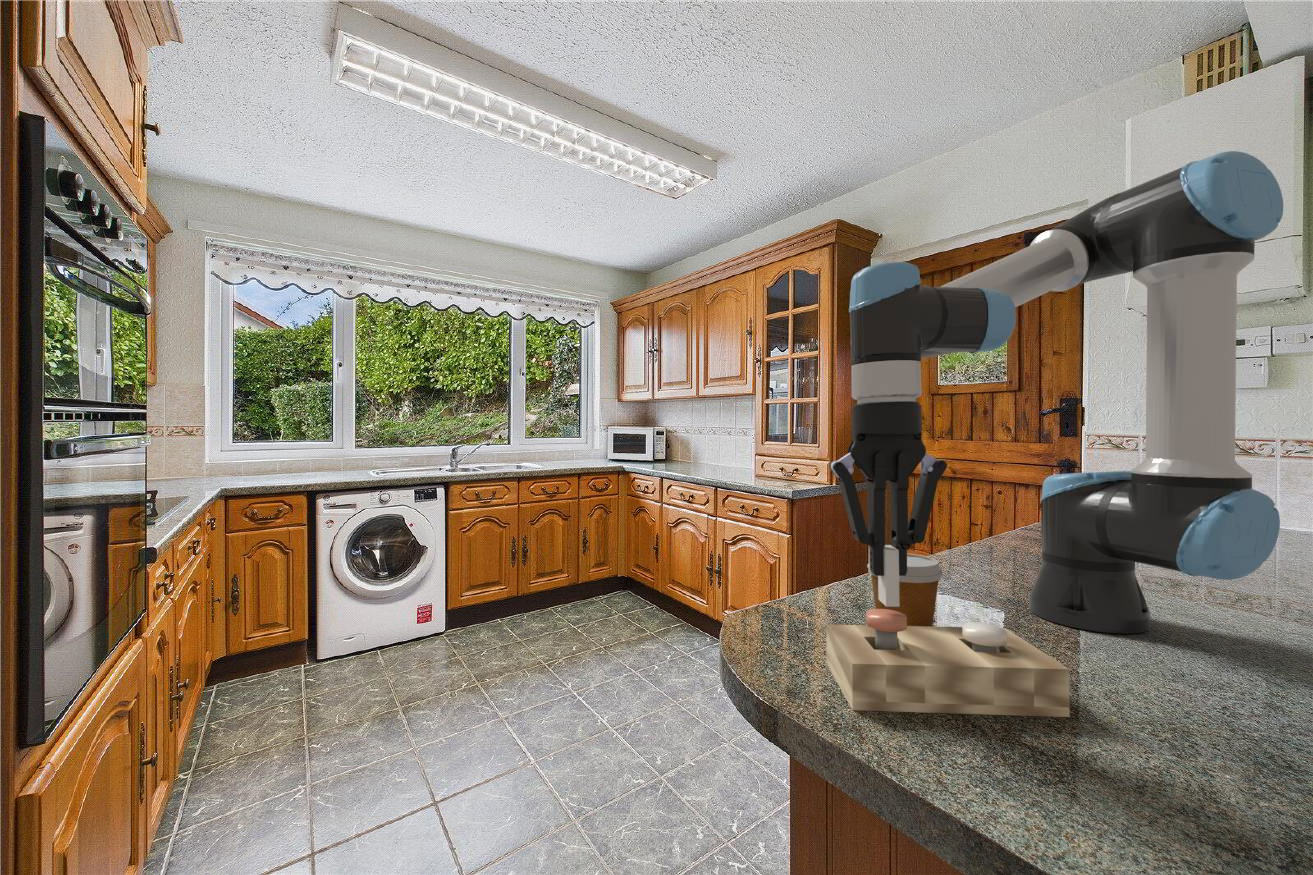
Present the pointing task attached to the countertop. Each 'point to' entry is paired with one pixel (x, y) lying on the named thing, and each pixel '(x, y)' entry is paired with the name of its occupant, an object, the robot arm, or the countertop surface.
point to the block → (945, 674)
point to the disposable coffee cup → (915, 590)
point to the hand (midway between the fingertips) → (888, 602)
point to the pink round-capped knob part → (886, 627)
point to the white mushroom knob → (984, 636)
